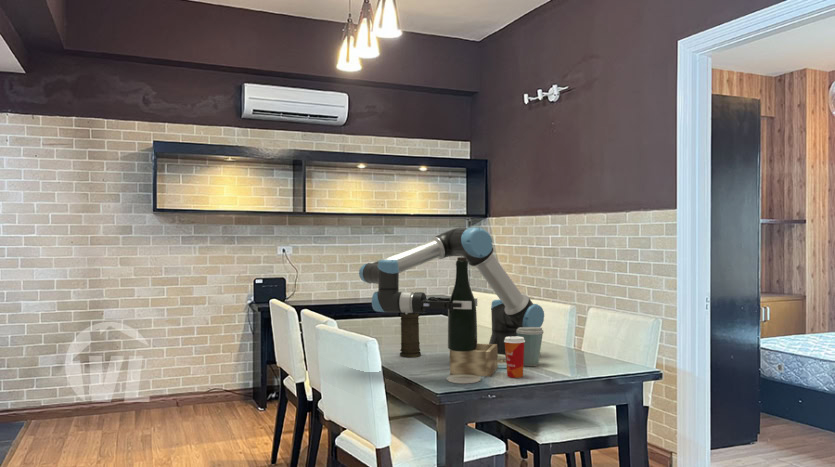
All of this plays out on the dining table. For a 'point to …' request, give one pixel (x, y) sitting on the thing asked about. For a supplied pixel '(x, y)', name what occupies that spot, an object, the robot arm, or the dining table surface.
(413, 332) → the container
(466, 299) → the dark green wine bottle
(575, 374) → the dining table surface
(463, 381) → the coaster
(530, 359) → the disposable coffee cup
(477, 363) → the wooden box
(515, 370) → the paper cup
